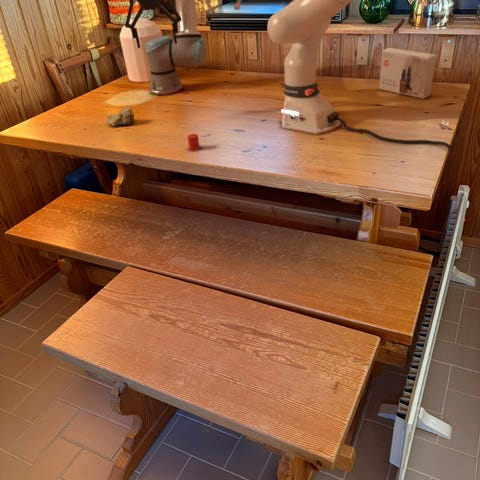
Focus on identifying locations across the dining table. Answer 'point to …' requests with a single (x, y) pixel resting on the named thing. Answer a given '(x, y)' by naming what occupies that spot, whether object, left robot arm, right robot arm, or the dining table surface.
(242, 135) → the dining table surface
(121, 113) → the rock
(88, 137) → the dining table surface
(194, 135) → the can
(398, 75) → the skincare box
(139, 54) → the container
